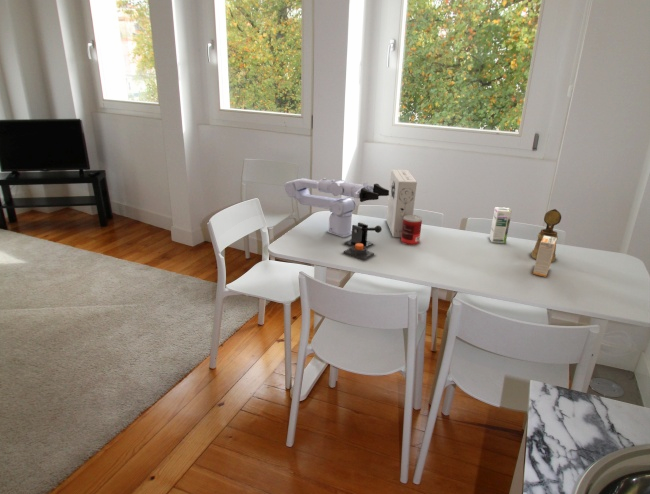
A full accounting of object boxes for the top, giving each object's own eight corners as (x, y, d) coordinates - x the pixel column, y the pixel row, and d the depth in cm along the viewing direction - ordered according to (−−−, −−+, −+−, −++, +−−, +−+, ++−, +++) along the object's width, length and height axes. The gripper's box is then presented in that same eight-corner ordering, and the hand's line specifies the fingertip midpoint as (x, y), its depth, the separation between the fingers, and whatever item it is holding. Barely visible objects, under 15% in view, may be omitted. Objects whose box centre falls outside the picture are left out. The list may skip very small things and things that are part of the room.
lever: (383, 231, 187) (382, 224, 186) (379, 233, 185) (378, 226, 184) (359, 231, 195) (358, 225, 194) (355, 233, 193) (354, 226, 192)
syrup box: (491, 242, 201) (497, 210, 195) (489, 237, 206) (495, 206, 200) (505, 243, 200) (512, 211, 194) (502, 238, 205) (509, 207, 200)
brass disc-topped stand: (557, 252, 193) (567, 210, 185) (554, 264, 182) (565, 220, 175) (533, 247, 197) (543, 206, 189) (529, 258, 186) (539, 215, 179)
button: (353, 248, 184) (353, 244, 184) (358, 246, 187) (358, 242, 186) (360, 251, 183) (360, 246, 182) (364, 248, 185) (365, 244, 184)
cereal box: (410, 238, 204) (417, 181, 194) (392, 237, 204) (398, 181, 194) (402, 221, 223) (407, 169, 213) (386, 220, 223) (391, 169, 213)
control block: (343, 253, 186) (343, 246, 185) (353, 248, 191) (354, 242, 190) (364, 261, 180) (364, 253, 179) (374, 255, 185) (374, 248, 184)
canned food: (418, 239, 203) (421, 214, 198) (420, 246, 196) (423, 221, 191) (400, 238, 203) (402, 214, 199) (401, 244, 196) (404, 220, 192)
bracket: (373, 245, 195) (374, 225, 192) (362, 250, 190) (363, 230, 186) (355, 239, 201) (356, 220, 197) (344, 244, 195) (345, 224, 191)
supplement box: (546, 277, 171) (555, 244, 165) (532, 274, 173) (540, 241, 168) (549, 269, 177) (557, 237, 172) (535, 266, 179) (543, 234, 174)
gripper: (345, 184, 189) (373, 188, 180) (365, 178, 199) (393, 181, 191) (345, 201, 191) (373, 206, 183) (365, 194, 202) (392, 198, 193)
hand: (383, 194), depth 187 cm, fingers open, 7 cm apart
